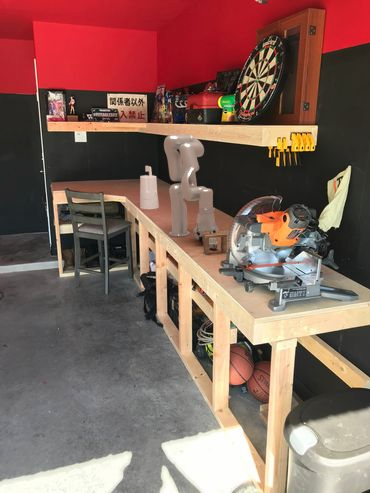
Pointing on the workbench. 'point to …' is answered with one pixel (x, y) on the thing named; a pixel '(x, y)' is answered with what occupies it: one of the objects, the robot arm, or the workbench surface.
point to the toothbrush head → (211, 241)
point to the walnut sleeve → (214, 235)
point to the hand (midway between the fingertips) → (205, 242)
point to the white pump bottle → (148, 191)
